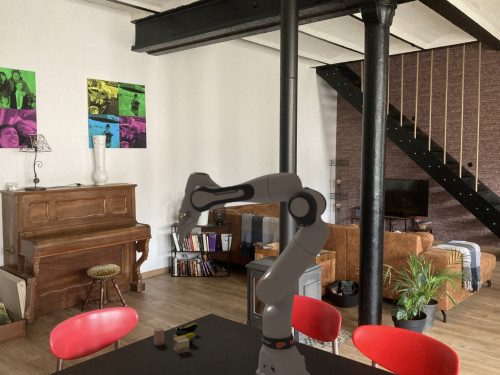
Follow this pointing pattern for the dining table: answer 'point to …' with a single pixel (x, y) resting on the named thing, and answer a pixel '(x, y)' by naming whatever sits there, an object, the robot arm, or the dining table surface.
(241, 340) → the dining table surface
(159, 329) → the terracotta cylinder
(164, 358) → the dining table surface
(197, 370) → the dining table surface
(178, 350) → the maple block
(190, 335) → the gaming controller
